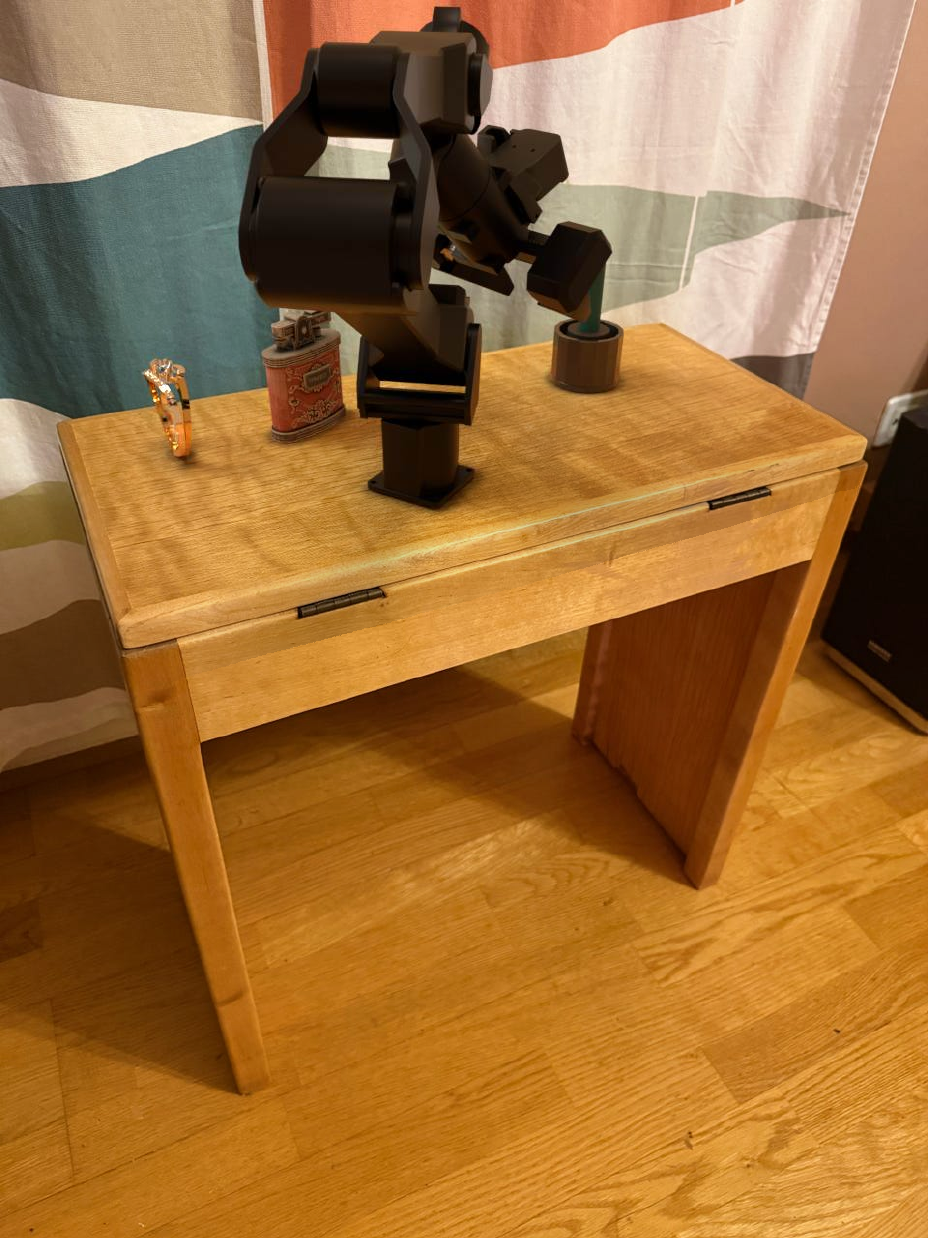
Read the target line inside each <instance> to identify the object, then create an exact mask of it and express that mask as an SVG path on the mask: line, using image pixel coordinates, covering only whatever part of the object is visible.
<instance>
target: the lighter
mask: <svg viewBox="0 0 928 1238" xmlns="http://www.w3.org/2000/svg"><path fill="white" fill-rule="evenodd" d="M331 321H332V312H325V311H311V310H303V312H301V313H298V312H295V311H292V310H290V311H287V312H286V313H284V315H283V319H281V320H279V321H277V322H274V323H272V324H271V325H270V327H271V336H272V338H274V343H273V344H272V345H270V346H268V347H267V348H265V349H263V350H262V351H261V353H260V354H261V361H262V362H261V363H262V364H263V365H264V366H265V367H264V368H265V375H266V382H267V384H266V385H267V391H268V399H269V409H270V415H271V416H270V417H271V425H270V434H271V439H272V440H273V441H275V442H277V443H282V444H291V443H294V442H295V443H296V442H299V441H301V440H304V439H307V438H310V437H312V436H314V435H317V434H319V433H321V432H324V431H326V430H328V429H329V428H331V427H333V426H335V425H336V424H339V422H340V421H342V420H343V419H345V418H346V416H347V409H346V408H347V407H346V404H345V402H344V396H343V395H344V393H343V381H342V367H341V366H342V365H341V352H340V345H341V344H342V338H341V337H342V335H341V332H340V331H339V330H337V329H335V328H334V329H333V328H321V326H322V325H324V324H327V323H330V322H331Z"/></svg>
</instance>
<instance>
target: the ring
mask: <svg viewBox="0 0 928 1238" xmlns="http://www.w3.org/2000/svg"><path fill="white" fill-rule="evenodd" d="M149 365H150V366H149V367H150V368H147V369H146V370H144V371H142V372H141V374H142V375H143V377H144V379H145V383H146V386H147V387H148V390H149V393H150V395H151V398H152V401H153V404H154V407H155V409H156V411H157V414H158V418H159V419H160V421H161V422H160V423H161V425H162V427H163V430H164V433H165V434H166V437H167V439H168V443H169V445H170V447H171V449H172V452H173V456H174V457H177V458H179V457H185V456H189V455H190V453H191V448H192V413H191V411H192V410H191V403H190V396H189V391H188V386H187V382H186V379H185V374H186V369H185V367H184V366H183V365H181V364H176V363H175V364H174V363H173V361H172V360H171V359H169V360H168V358H163V359H159V358H154V359H152V360H151V361H149ZM174 373H175V374H176V376H175V374H174ZM167 384H171V385H172V384H174V387H175V389H176V391H177V393H178V397H179V400H180V405H181V412H180V408H179V405H178V403H177V400H176V398H175V395H174V393H173V392H172V390H171V389H170V387H169V386H168V385H167ZM157 390H158V392H157ZM171 413H172V415H171ZM181 413H182V414H181ZM172 416H173V418H172ZM173 419H174V421H173ZM174 423H175V424H174Z"/></svg>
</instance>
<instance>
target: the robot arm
mask: <svg viewBox="0 0 928 1238" xmlns="http://www.w3.org/2000/svg"><path fill="white" fill-rule="evenodd" d="M490 56H491V48H490V44H489V43H488V41H487V38H486V37H485V36H484V35H483V33H482V32H481V31H480V30H479V29H478V28H477V27H476V26H475V25H473V24H471V23H469V22H468V21H466V20H463V19H462V7H461V6H433V13H432V20H431V21H429V22H427V23H426V24H425V25H424V26H422V27H421V28H420V29H419V31H417V30H416V31H415V30H414V31H413V30H412V31H410V30H380V31H379V32H377V33H376V34H375V35H374V36H373V37H372V38H371V39H370V41H368V42H351V41H349V42H348V41H347V42H345V41H344V42H343V41H325V42H323V43H322V44H321V45H320V47H310V48H309V49H308V50H307V52H306V56H305V60H304V63H303V70H302V75H301V80H300V86H299V91H298V92H297V93H296V95H295V96H294V97H293V98H292V99H291V100H290V101H289V102H288V104H287V105H286V106H285V107H284V108H283V109H282V111H280V113H279V114H278V115H277V117H275V119H274V120H273V121H272V122H271V123H270V124H269V126H268V127H266V129H265V130H264V131H263V132H262V134H261V135H260V136H259V137H258V138H257V139H256V140H255V142H254V144H253V146H252V150H251V154H250V158H249V159H250V160H249V165H248V170H247V176H246V181H245V187H244V192H243V197H242V202H241V207H240V213H239V220H238V228H237V239H238V240H237V241H238V243H237V244H238V252H239V253H238V254H239V258H240V263H241V267H242V270H243V273H244V275H245V276H246V278H247V279H248V280H249V281H251V282H253V288H254V289H255V292H256V294H257V296H258V298H260V299H261V300H262V302H263V303H264V304H265V306H267V307H269V308H275V309H276V308H277V309H286V310H287V309H288V310H298V311H304V310H311V311H325V312H331V313H334V314H336V315H337V316H338V317H339V318H340V319H341V320H343V321H344V323H346V324H347V325H349V326H350V327H351V328H352V329H354V331H356V332H357V333H358V334H359V335H361V336H360V337H359V346H358V347H359V348H358V357H357V358H358V359H357V368H356V369H357V370H356V382H355V383H356V385H355V390H356V393H355V394H356V408H357V410H358V412H359V418H360V419H365V420H368V419H380V430H381V431H380V433H381V449H382V450H381V453H382V470H381V471H379V472H378V473H377V474H376V475H374V476H373V477H371V478H370V479H368V480H367V483H366V484H367V489H368V490H370V491H374V492H377V493H381V494H384V495H387V496H390V497H394V498H397V499H401V500H404V501H408V502H411V503H415V504H418V505H422V506H423V507H424V506H425V507H428V508H430V509H431V508H432V509H437V508H440V507H441V506H442V505H444V503H446V501H448V500H449V499H450V498H451V497H452V496H454V495H455V494H456V493H457V492H458V491H459V490H460V489H462V488H463V487H464V486H465V485H466V484H467V483H469V481H471V480H472V479H473V478H474V477H475V476H476V469H475V468H473V467H471V466H466V465H463V464H460V463H459V460H460V425H464V426H466V427H472V425H473V422H474V418H475V416H476V411H477V408H478V404H479V400H480V383H481V382H480V381H481V364H482V350H483V327H482V323H478V322H475V315H474V311H473V309H472V308H471V307H470V304H471V297H470V296H468V295H467V291H466V289H465V288H464V287H463V286H461V285H460V284H448V283H447V284H444V283H430V281H431V276H432V275H431V274H432V269H433V270H435V271H438V272H441V273H443V274H446V275H449V276H451V277H455V278H456V279H460V280H463V281H465V282H468V283H469V284H470V283H471V284H473V285H476V286H479V287H482V288H485V289H486V290H489V291H492V292H495V293H497V294H500V295H503V296H506V297H510V296H511V295H512V293H513V291H514V290H515V284H514V282H513V280H512V278H511V276H510V274H509V271H508V270H507V269H506V268H505V265H507V264H510V263H511V262H513V261H514V260H516V261H518V262H522V263H525V264H527V265H531V266H530V267H529V269H528V270H527V272H526V282H525V283H526V285H525V286H526V287H525V288H526V289H525V291H527V293H528V295H530V296H531V298H532V299H533V300H535V301H536V302H537V303H536V306H539V307H542V308H544V309H547V310H549V311H551V312H554V313H557V314H560V315H562V316H565V317H567V318H569V319H575V320H577V321H580V322H583V323H585V322H586V320H587V319H588V317H589V316H590V314H591V307H590V299H589V290H590V288H591V286H592V285H593V283H594V282H595V280H596V278H597V277H598V275H599V273H600V272H601V270H602V269H603V267H604V265H605V264H606V265H607V263H608V260H609V259H610V258H611V256H612V255H613V249H612V248H613V247H612V245H611V243H610V241H609V240H608V238H607V236H606V234H605V233H604V231H603V230H602V229H600V228H597V227H593V226H589V225H585V224H581V223H578V222H574V221H570V220H567V221H561V222H559V223H556V225H555V227H554V228H553V230H552V231H551V233H550V235H549V234H546V233H542V232H539V231H535V230H532V229H529V226H530V224H532V225H535V224H536V223H537V221H538V220H539V218H540V217H541V215H542V214H543V209H542V207H541V206H540V205H539V203H538V202H540V201H541V200H543V199H544V198H545V197H546V196H547V195H548V194H550V192H552V191H553V190H554V189H555V188H556V187H557V186H558V185H559V184H564V183H565V182H566V180H567V179H568V178H569V176H570V172H569V167H568V163H567V160H566V154H565V150H564V145H563V141H562V140H563V139H562V137H561V135H560V134H558V133H554V132H550V131H544V130H539V129H533V128H522V129H516V128H512V129H510V130H509V131H508V130H507V129H506V128H505V127H503V126H498V125H492V124H486V125H485V127H483V128H482V129H481V130H479V129H480V126H481V125H482V117H483V116H484V115H485V113H486V110H487V108H488V106H489V104H490V102H491V95H492V88H493V80H494V79H493V78H494V70H493V68H492V66H491V63H490ZM478 131H479V132H478ZM476 133H477V135H476ZM474 135H476V136H477V137H476V144H475V142H474V141H473V140H472V138H471V136H474ZM329 138H339V139H340V138H341V139H360V140H361V139H363V140H365V139H366V140H388V141H389V140H390V141H392V143H391V151H390V157H389V160H388V161H387V169H388V172H389V174H388V175H389V176H388V177H389V178H388V179H387V178H385V179H384V178H365V177H364V178H363V177H343V176H342V177H341V176H340V177H339V176H320V175H319V176H317V175H306V174H307V173H308V171H310V170H311V169H312V167H313V166H314V165H315V164H316V162H318V160H319V159H320V158H321V157H322V156H323V154H324V153H325V151H326V149H327V146H328V142H329ZM381 382H387V383H403V384H416V385H417V384H418V385H431V386H445V387H459V388H461V387H462V388H464V392H462V391H461V392H460V391H448V390H447V391H446V390H430V389H416V388H412V389H411V388H401V387H400V388H399V387H387V386H385V387H384V386H381Z"/></svg>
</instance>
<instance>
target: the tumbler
mask: <svg viewBox="0 0 928 1238" xmlns="http://www.w3.org/2000/svg"><path fill="white" fill-rule="evenodd" d="M577 322H579V321H577V320H575V319H572V318H568V319H565V320H561V321H559V322H558V323H556V324H554V326H553V337H552V339H553V340H552V350H551V367H550V381H551V382H552V383H553V385H555V386H556V387H559V388H560V389H562V390H565V391H569V392H574V393H579V394H596V393H602V392H606V391H610V390H612V389H613V388H615V387H617V385H618V384H619V383H618V382H619V377H620V370H621V361H622V353H623V344H624V336H625V332H624V331H625V330H624V328H623V327H622V326H620V325H619V324H618V323H615V322H612V321H610V320H606V319H600V324H603V325H605V326H607V327H608V328H609V329H610V334H609V339H606V340H596V341H593V340H580V339H575V338H571V337H569V336H567V331H568V327H569V325H571V324H573V323H577Z"/></svg>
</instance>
